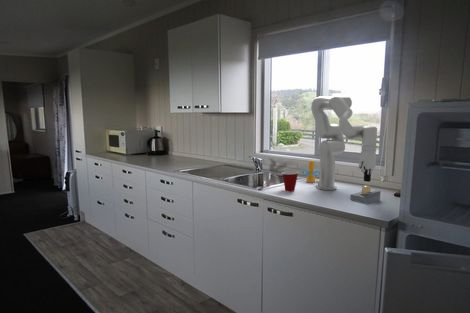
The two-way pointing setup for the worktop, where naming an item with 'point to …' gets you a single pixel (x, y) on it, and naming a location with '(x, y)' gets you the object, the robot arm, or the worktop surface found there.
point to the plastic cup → (290, 180)
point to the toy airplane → (311, 172)
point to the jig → (366, 197)
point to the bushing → (365, 189)
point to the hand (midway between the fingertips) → (367, 181)
